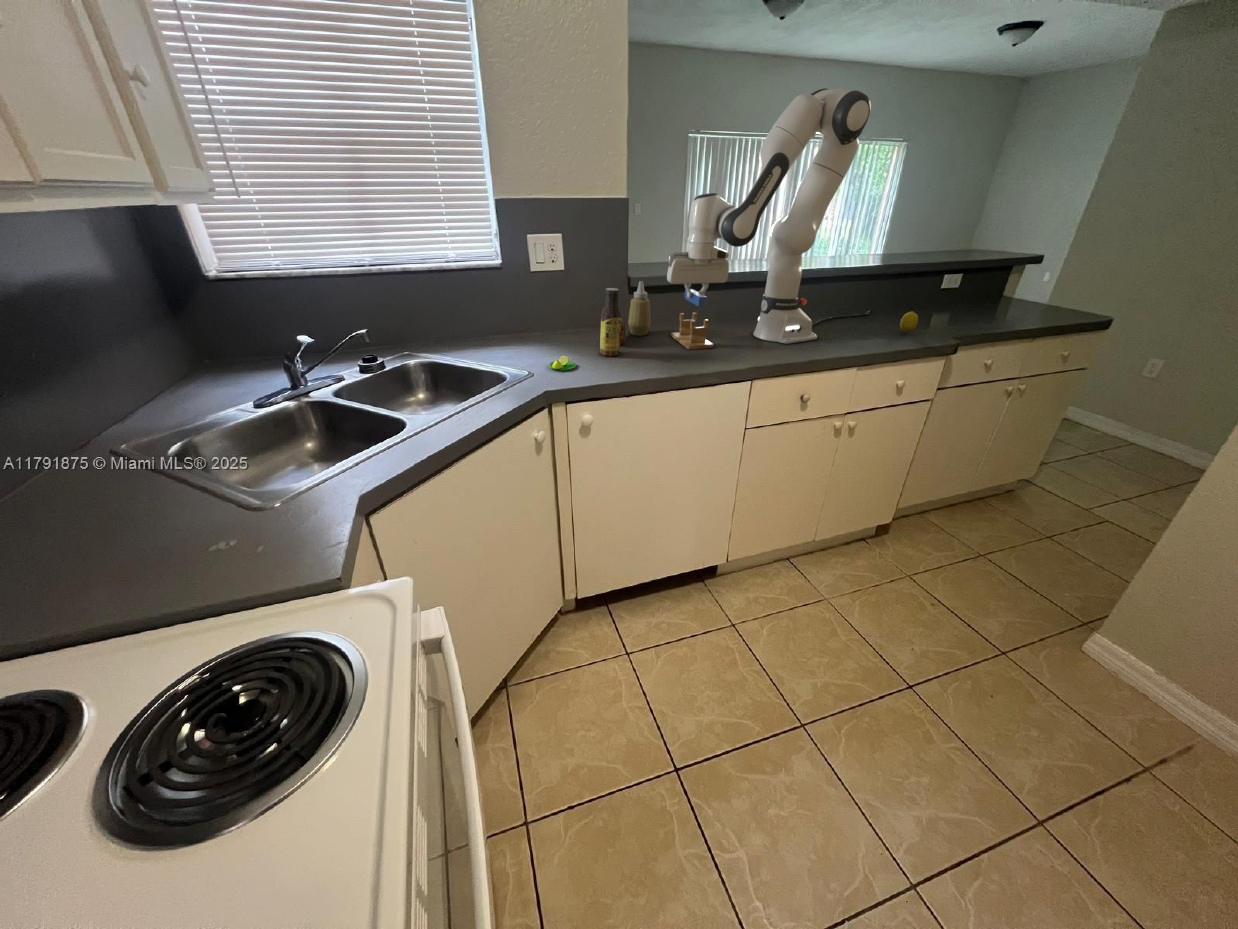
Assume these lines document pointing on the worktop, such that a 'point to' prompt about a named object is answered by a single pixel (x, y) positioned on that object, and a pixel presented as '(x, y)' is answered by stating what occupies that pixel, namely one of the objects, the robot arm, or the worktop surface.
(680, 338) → the holder
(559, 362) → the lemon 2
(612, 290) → the sauce bottle
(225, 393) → the worktop surface
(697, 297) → the handle
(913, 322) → the lemon
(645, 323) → the squeeze bottle
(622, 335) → the tin
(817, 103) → the robot arm
